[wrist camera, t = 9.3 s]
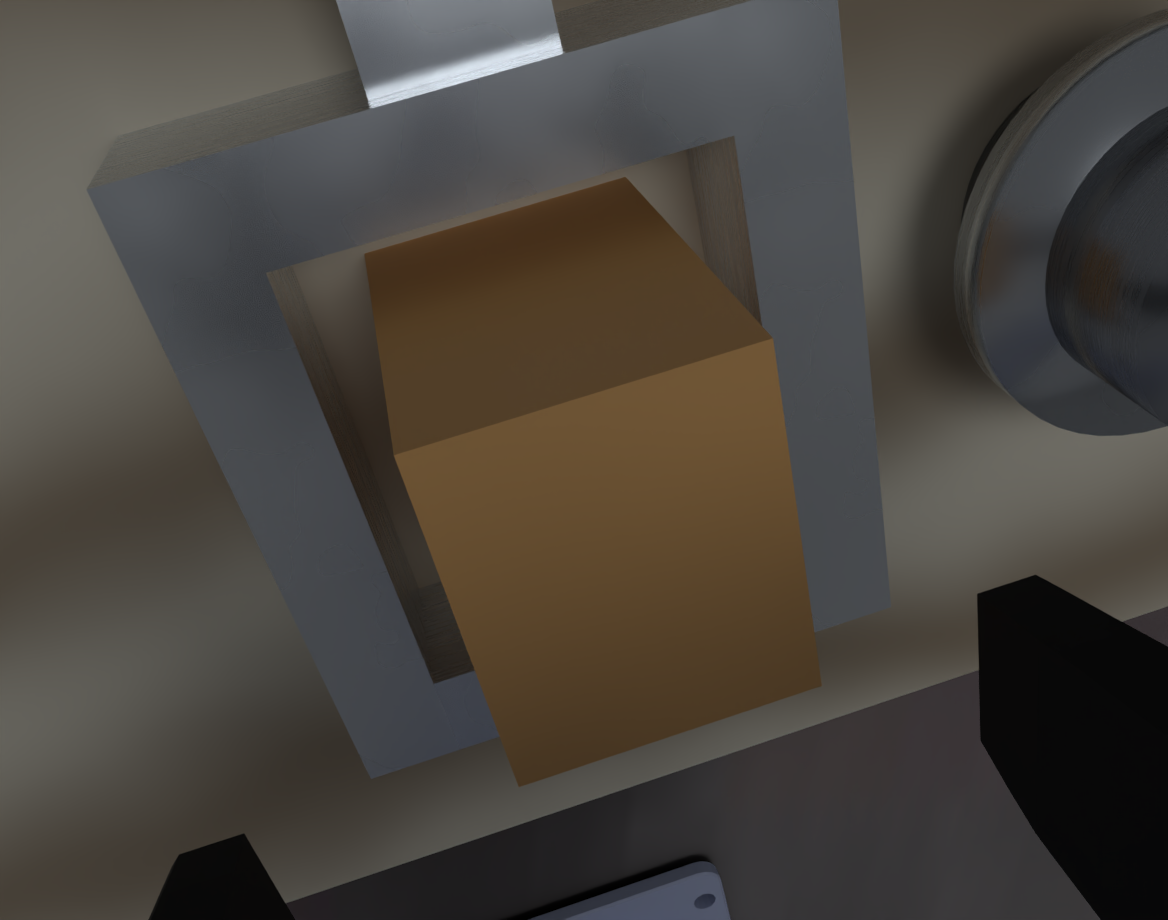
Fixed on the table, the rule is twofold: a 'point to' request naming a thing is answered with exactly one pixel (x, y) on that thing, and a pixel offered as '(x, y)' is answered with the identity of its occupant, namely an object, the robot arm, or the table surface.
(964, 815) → the table surface
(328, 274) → the base board
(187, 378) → the grey rectangular frame
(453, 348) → the cardboard-brown box
